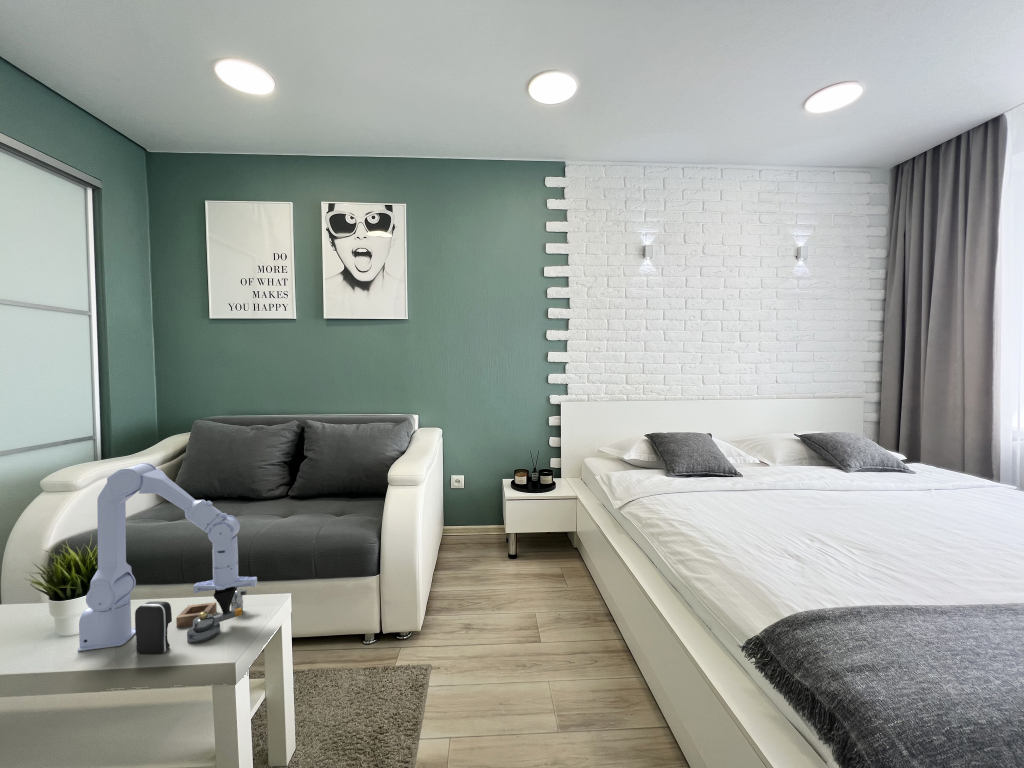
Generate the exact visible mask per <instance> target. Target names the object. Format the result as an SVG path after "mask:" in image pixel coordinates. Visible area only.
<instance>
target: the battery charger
mask: <svg viewBox="0 0 1024 768" xmlns="http://www.w3.org/2000/svg"><path fill="white" fill-rule="evenodd" d="M172 615H173V614H172V607H171V604H170V603H169V602H167V601H158V600H157V601H156V600H155V601H148V602H145V603H144V604H141V605H139V606H138V607H137V608H136V609H135V611H134V626H135V627H134V628H135V631H136V633H135V640H136V641H135V643H136V646H135V647H136V653H137V654H140V655H141V654H142V655H143V654H144V655H154V654H155V655H156V654H157V655H159V654H163V653H165V652H166V651H168V650H169V649H170V643H169V640H168V628H169V624H170V623H172V620H173V619H172V618H173V616H172Z"/></svg>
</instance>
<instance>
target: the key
mask: <svg viewBox="0 0 1024 768" xmlns="http://www.w3.org/2000/svg"><path fill="white" fill-rule="evenodd" d="M247 593H248V590H247V589H243V588H242V589H241V588H237V590H236V592H235V594H234V596H233V599H232V602H231V605H230V611H232V610H234V609H237V608H241V609H242V613H243V612H244V603H243V600H244V599H243V598H244V597H243V596H246V595H247Z"/></svg>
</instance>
